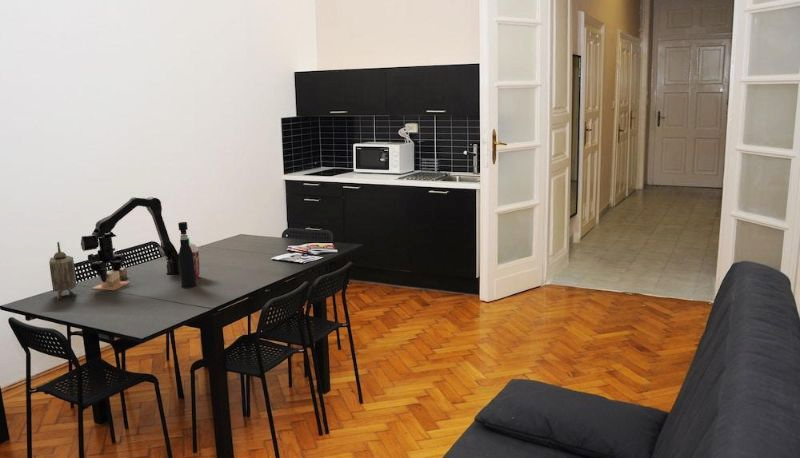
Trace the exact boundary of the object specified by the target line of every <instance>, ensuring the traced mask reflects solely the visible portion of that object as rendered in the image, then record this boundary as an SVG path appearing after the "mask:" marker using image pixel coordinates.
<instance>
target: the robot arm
mask: <svg viewBox="0 0 800 458" xmlns="http://www.w3.org/2000/svg"><path fill="white" fill-rule="evenodd" d="M137 207H143V208H146V210H147V211H148V213H149V214H150V216H151V218H152V220H153V223H154V226H155V227H154V228H155V229H156V233H157V236H158V238H159V239H158V240H159V241H160V246H158V247H157V248H158V251H159V255H161V256H162V257H163V258H164V259H165V261H166V275H181V273H180V263H179V253H178V251H177V249H176V247H175V245H174V244H173V243H172V241H171V239H170V236H169V233H168V230H167V227H166V224H165V221H164V218H163V215H162V210H163V208H162V201H161V200H160V199H159V198H157V197H153V196H149V197H147V198H145V197H143V198H142V197H135V196H134V197H133V196H132V197H131V198H130V199H129V200H128V201H126V202H125V203H124V204H122V205H121V206H120V207H119V208H118V209H117V210H115V211H114V212H113V213H112V214H110V215H108V216H106V217H105V216H104V217H103V218H102V219H101V218H100V219H99V220H98V221H97V222H96V223H95V228H94V230H93V231H92V233H91V234H89V235H82V236H81V239H80V246H81V249H82V251H83V252H85V251H92V250H97V253H96V254H93V253H90V254H88V255H87V260H88V262H91V263H90V265H89V267H90V270H92V271H95V272H96V273H97V274H98V276H99V278H100V277H101V279H102V281H103V282H106V275H107V271H108V268H107V265H108V264H110V265H111V266H112V270H114V271H120V269H121V268H122V266H123V265H124V264H123V263H125V261H126V256H125V255H124V254H120V253H118V254H116V253H115V251H116V248H115V247H114V246H113V245H114V244H113V238H115V237H117V234H115V233H113V231H112V230H114V228H115V227H116V225H117V224H118V223H119V221H121V220H122V219H123V218H124V217H126V216H127V215H129V213H131V212H132V211H134V210H135V208H137ZM98 248H99V250H98ZM114 253H115V254H114ZM101 279H100V280H101Z"/></svg>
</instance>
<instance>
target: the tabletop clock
mask: <svg viewBox="0 0 800 458" xmlns="http://www.w3.org/2000/svg"><path fill="white" fill-rule="evenodd" d="M56 244H57V246H56V247H57V252H56V253H54V254H53V257H50V259H49V262H48V263H49V265H48V266H49V271H50V279H51V286H52V292H57V293H58V295H57V296H56V299H57V301H58V300H61V299H62V297H61V295H62V294H63V292H64V291H67V290H68V292H69V293H68V295H69V296H73V294H74V293H73V291H71V290H73V289H74V288H76V287H77V276H76V268H75V262H74V257H73V256H70V255H67V254H66V252H65V251H61V246H60V241H57V243H56Z"/></svg>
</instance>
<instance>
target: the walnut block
mask: <svg viewBox="0 0 800 458" xmlns="http://www.w3.org/2000/svg"><path fill="white" fill-rule="evenodd" d="M111 271H114V270H113V269H112V270H111ZM119 275H120V281H124V280H126V279H127V278H128V272H127V267H121V269H120V271H119ZM126 277H127V278H126Z"/></svg>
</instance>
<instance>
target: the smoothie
mask: <svg viewBox="0 0 800 458" xmlns="http://www.w3.org/2000/svg"><path fill="white" fill-rule="evenodd" d="M188 239H189V245H190V247H191V250H192V253H193V258H194V268H195V278H196V279H198V278H199V277H200V273H201V272H200V271H201V270H200V249H199V248H198V246H197V245H196V244H194V243H193V242H190V241H191V240H190V237H188Z"/></svg>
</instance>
